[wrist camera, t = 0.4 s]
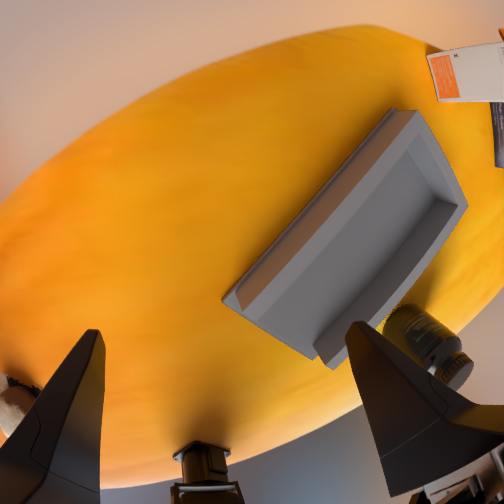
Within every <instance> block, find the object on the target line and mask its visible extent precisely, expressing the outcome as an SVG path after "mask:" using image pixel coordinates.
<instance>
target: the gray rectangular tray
mask: <svg viewBox="0 0 504 504" xmlns="http://www.w3.org/2000/svg"><path fill="white" fill-rule="evenodd" d="M467 207H468V203H467V201H466V199H465V196H464V194H463V192H462V189H461V187H460V185H459V183H458V181H457V178H456V176H455V174H454V172H453V170H452V168H451V166H450V164H449V162H448V160H447V158H446V156H445V154H444V153H443V151H442V149H441V147H440V145H439V143H438V142H437V140H436V138H435V136H434V135H433V133H432V131H431V130H430V128H429V126H428V125H427V123H426V121H425V120H424V118H423V117H422V115H421V114H420V112H419V110H410V111H400V112H398V110H397V109H396V107H394V108H391V109H390V110H389V111H388V113H387V114H386V115H385V116H384V117H383V118H382V120H381V121H380V122H379V123H378V124H377V125H376V126H375V128H374V129H373V130H372V131H371V132H370V133H369V134H368V136H367V137H366V138H365V139H364V140H363V141H362V142H361V144H360V145H359V146H358V147H357V148H356V149H355V150H354V152H353V153H352V154H351V155H350V156H349V157H348V158H347V160H346V161H345V162H344V163H343V164H342V165H341V166H340V168H339V169H338V170H337V171H336V172H335V173H334V174H333V176H332V177H331V178H330V179H329V180H328V181H327V182H326V183H325V185H324V186H323V187H322V188H321V189H320V190H319V191H318V193H317V194H316V195H315V196H314V197H313V198H312V199H311V200H310V202H309V203H308V204H307V205H306V206H305V207H304V208H303V209H302V211H301V212H300V213H299V214H298V215H297V216H296V217H295V218H294V220H293V221H292V222H291V223H290V224H289V225H288V226H287V227H286V228H285V230H284V231H283V232H282V233H281V234H280V235H279V236H278V237H277V239H276V240H275V241H274V242H273V243H272V244H271V245H270V246H269V247H268V249H267V250H266V251H265V252H264V253H263V254H262V255H261V256H260V258H259V259H258V260H257V261H256V262H255V263H254V264H253V265H252V266H251V268H250V269H249V270H248V271H247V272H246V273H245V274H244V275H243V276H242V277H241V279H240V280H239V281H238V282H237V283H236V284H235V285H234V286H233V287H232V289H231V290H230V291H229V292H228V293H227V294H226V295H225V296H224V297H223V298H222V303H224V304H225V305H226V306H228V307H229V308H231V309H232V310H234V311H235V312H237V313H238V314H240V315H241V316H243V317H244V318H246V319H247V320H249V321H250V322H252V323H253V324H255V325H256V326H258V327H259V328H261V329H263V330H264V331H266V332H267V333H269V334H270V335H272V336H273V337H275V338H277V339H278V340H280V341H281V342H283V343H285V344H286V345H288V346H289V347H291V348H293V349H294V350H296V351H297V352H299V353H301V354H302V355H304V356H306V357H307V358H309V359H310V360H313V359H314V358H315V357H316V356H318V355H319V357H320V358H321V360H322V361H323V363H324V364H325V366H327V367H329V368H330V369H332V370H334V369H335V368H336V367H337V366H339V365H340V364H341V363H342V362H343V361H344V360H345V359H346V358H347V357H348V356H349V355H348V351H347V347H346V343H345V334H346V333H347V331H348V329H349V327H350V325H351V324H352V322H354V321H359V320H363V321H365V322H366V323H367V324H369V325H370V326H371V327H372V328H374V329H375V328H376V327H377V326H378V325H379V324H380V323H381V322H382V321H383V319H384V318H385V317H386V316H387V315H388V314H389V313H390V312H391V310H392V309H393V308H394V307H395V306H396V305H397V304H398V302H399V301H400V300H401V299H402V298H403V296H404V295H405V294H406V293H407V292H408V290H409V289H410V288H411V287H412V285H413V284H414V283H415V282H416V280H417V279H418V278H419V277H420V275H421V274H422V273H423V271H424V270H425V269H426V268H427V266H428V265H429V264H430V262H431V261H432V259H433V258H434V257H435V255H436V254H437V253H438V251H439V250H440V248H441V247H442V246H443V244H444V243H445V241H446V240H447V238H448V237H449V235H450V234H451V232H452V231H453V229H454V228H455V226H456V225H457V223H458V222H459V220H460V219H461V217H462V215H463V214H464V212H465V211H466V209H467Z"/></svg>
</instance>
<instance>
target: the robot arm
mask: <svg viewBox="0 0 504 504" xmlns="http://www.w3.org/2000/svg"><path fill="white" fill-rule="evenodd" d="M345 343H346V347H347V351H348V355H349V359H350V364H351V368H352V372H353V375H354V379H355V381H356V384H357V387H358V390H359V393H360V396H361V399H362V402H363V405H364V408H365V411H366V415H367V418H368V421H369V424H370V427H371V430H372V433H373V437H374V440H375V443H376V447H377V450H378V454H379V457H380V461H381V464H382V468H383V472H384V475H385V479H386V483H387V486H388V490H389V494H390V497H391V498H392V497H395V496H398V495H401V494H404V493H407V492H409V491H412V490H415V489H417V488H420V487H423V489H421V490H420V491H418V492H416V493H415V494H413V495H412V497H411V499H410V502H409V504H504V405H480V404H476V403H473V402H471V401H469V400H468V399H466V398H465V397H463V396H462V395H460V394H458V393H457V392H456V391H454V390H453V389H451V388H450V387H448V386H447V385H446V384H444V383H443V382H441V381H440V380H439V379H437V378H436V377H435V376H434V375H432V374H431V373H430V372H428V371H427V370H426V369H425V368H423V367H422V366H421V365H420V364H418V363H417V362H416V361H415V360H413V359H412V358H411V357H409V356H408V355H407V354H406V353H404V352H403V351H402V350H401V349H399V348H398V347H397V346H395V345H394V344H393V343H392V342H390V341H389V340H388V339H387V338H385V337H384V336H383V335H381V334H380V333H379V332H378V331H376V330H375V329H374V328H372V327H371V326H370V325H369V324H367V323H366V322H365V321H363V320H359V321H354V322H352V324H351V325H350V327H349V329H348V331H347V333H346V334H345ZM105 354H106V348H105V343H104V341H103V338H102V335H101V332H100V331H99V330H98V329H88V330H87V331H86V332H85V333H84V334H83V336H82V337H81V338H80V339H79V341H78V342H77V343H76V345H75V346H74V347H73V349H72V350H71V351H70V353H69V354H68V355H67V356H66V358H65V359H64V361H63V362H62V363H61V365H60V366H59V367H58V369H57V370H56V371H55V373H54V374H53V376H52V377H51V378H50V380H49V381H48V383H47V384H46V385H45V387H44V388H43V390H42V391H41V393H40V394H39V396H38V397H37V399H36V400H35V402H34V404H32V406H31V407H30V409H29V410H28V412H27V413H26V415H25V416H24V418H23V419H22V421H21V422H20V424H19V425H18V426H17V427H16V429H15V430H14V431H13V433H12V434H11V435H10V436H9V438H8V439H7V440H6V441H5V443H4V444H3V445H2V447H1V448H0V504H100V494H99V493H100V441H101V425H102V413H103V403H104V392H105ZM230 455H231V452H230V451H227V450H224V449H220V448H217V447H214V446H211V445H207V444H204V443H201V442H198V441H195V442H193V443H192V444H190V445H189V446H187V447H186V448H184V449H183V450H181V451H180V452H179V453H177V454H176V455H174V456H173V460H175V461H178V462H181V463H182V476H183V483H174V485H175V486H172V487H170V488H171V489H170V490H171V504H245V503H244V499H243V496H242V493H241V490H240V487H239V484H238V481H233V482H228V477H227V473H228V470H227V465H226V460H225V458H226V457H228V456H230Z"/></svg>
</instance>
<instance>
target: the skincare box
mask: <svg viewBox="0 0 504 504" xmlns="http://www.w3.org/2000/svg"><path fill="white" fill-rule="evenodd" d="M426 57H427V60H428V62H429V66H430V69H431V73H432V77H433V80H434V85H435V89H436V93H437V98H438V101H439V102H504V42H497V43H489V44H482V45H476V46H468V47H462V48H457V49H452V50H447V51H442V52H438V53H433V54H429V55H426Z"/></svg>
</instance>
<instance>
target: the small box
mask: <svg viewBox="0 0 504 504" xmlns="http://www.w3.org/2000/svg"><path fill="white" fill-rule="evenodd" d="M490 105H491V113H492V122H493V133H494V148H495V167H499V168H504V102H490Z"/></svg>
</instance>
